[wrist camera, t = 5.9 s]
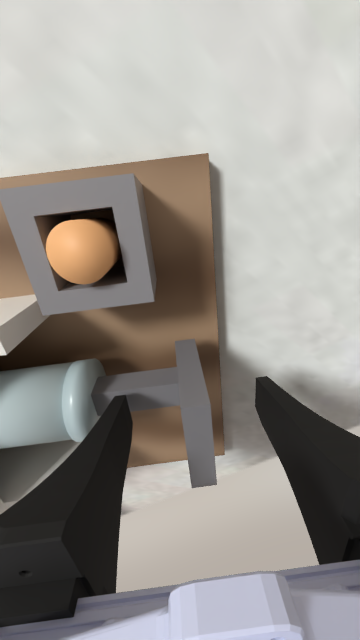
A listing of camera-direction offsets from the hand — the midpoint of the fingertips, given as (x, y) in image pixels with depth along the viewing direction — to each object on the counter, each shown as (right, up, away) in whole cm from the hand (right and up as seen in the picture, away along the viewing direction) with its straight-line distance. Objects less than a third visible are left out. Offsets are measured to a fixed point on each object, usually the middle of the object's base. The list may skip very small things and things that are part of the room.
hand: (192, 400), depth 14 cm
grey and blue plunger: (-8, 0, +3) cm, 9 cm away
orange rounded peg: (-5, +9, -1) cm, 10 cm away
